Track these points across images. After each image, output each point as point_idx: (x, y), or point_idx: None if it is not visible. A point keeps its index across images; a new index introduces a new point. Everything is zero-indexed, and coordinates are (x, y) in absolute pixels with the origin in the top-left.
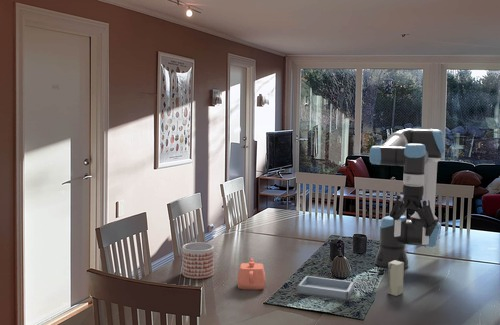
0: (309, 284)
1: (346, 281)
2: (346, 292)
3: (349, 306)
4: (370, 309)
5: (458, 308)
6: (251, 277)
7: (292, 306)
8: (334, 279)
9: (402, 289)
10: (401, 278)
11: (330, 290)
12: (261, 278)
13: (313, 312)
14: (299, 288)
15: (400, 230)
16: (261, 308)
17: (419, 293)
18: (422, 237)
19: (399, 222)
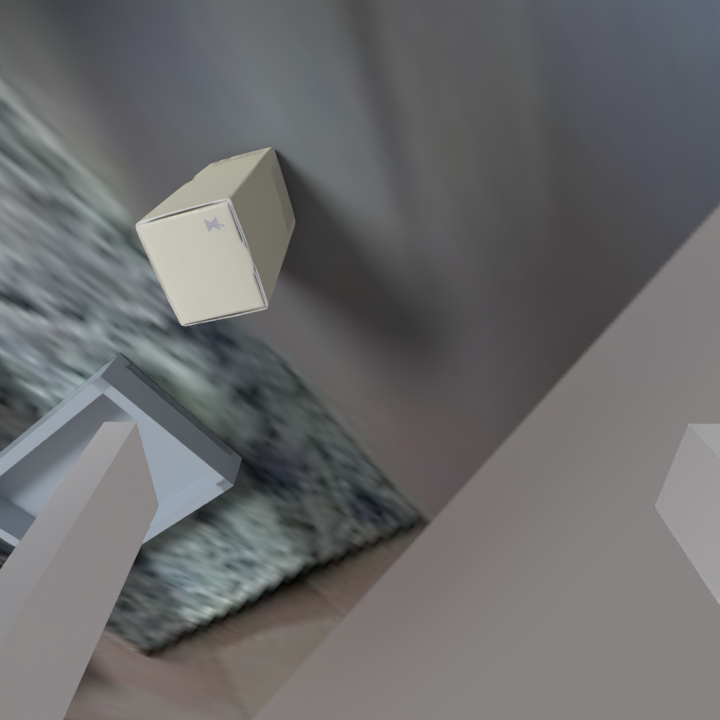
0: (13, 491)
1: (83, 404)
2: (227, 488)
3: (297, 487)
4: (366, 445)
5: (652, 29)
6: None
7: (210, 615)
8: (34, 433)
9: (271, 157)
10: (268, 200)
11: (175, 520)
12: None
13: (285, 596)
14: None
15: (94, 493)
16: (189, 673)
17: (326, 32)
18: (717, 598)
19: (11, 694)
